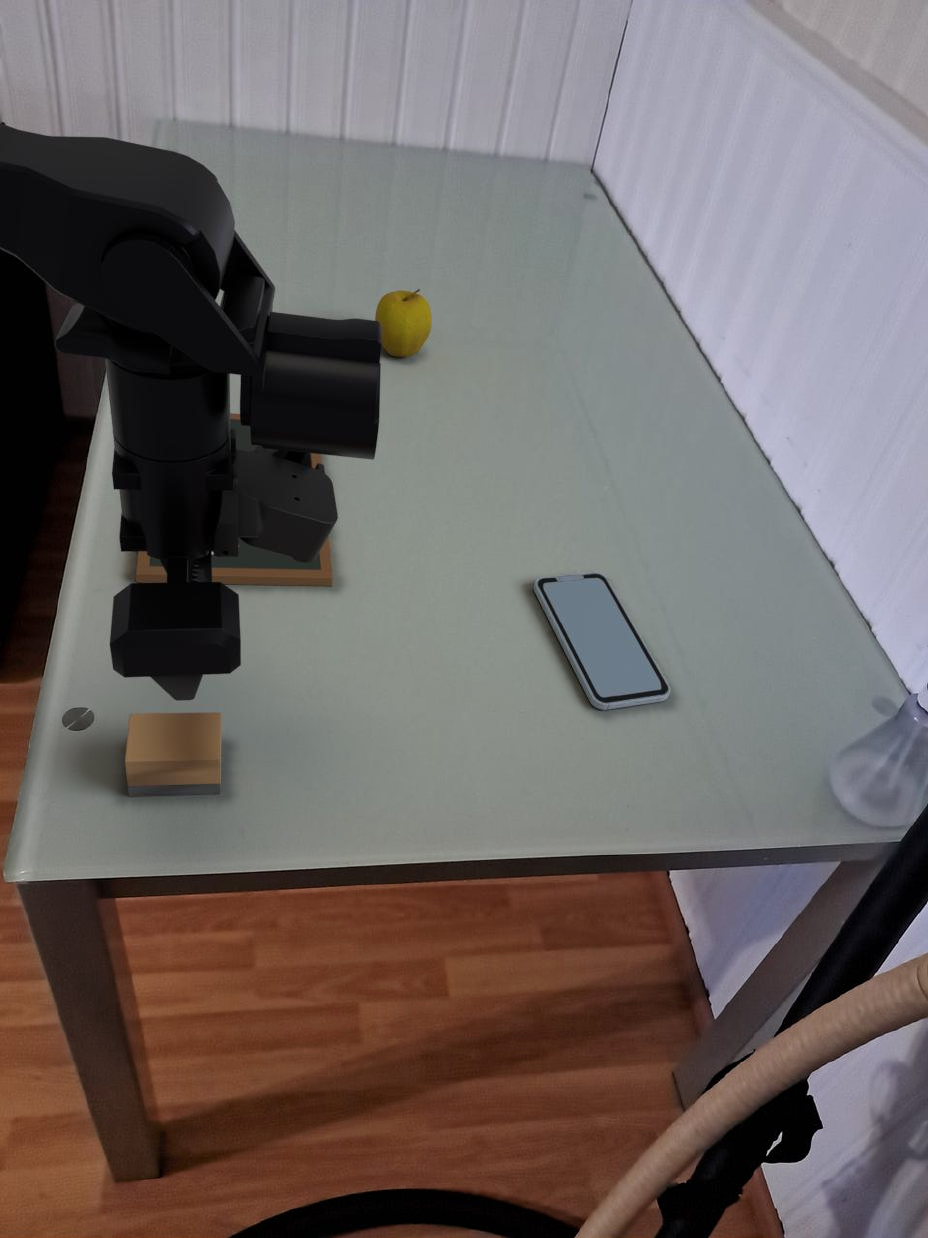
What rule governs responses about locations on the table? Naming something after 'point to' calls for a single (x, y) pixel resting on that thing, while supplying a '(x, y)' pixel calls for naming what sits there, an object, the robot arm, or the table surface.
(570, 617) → the smartphone
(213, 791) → the eraser
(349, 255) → the table surface
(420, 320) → the apple
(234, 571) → the chalkboard
